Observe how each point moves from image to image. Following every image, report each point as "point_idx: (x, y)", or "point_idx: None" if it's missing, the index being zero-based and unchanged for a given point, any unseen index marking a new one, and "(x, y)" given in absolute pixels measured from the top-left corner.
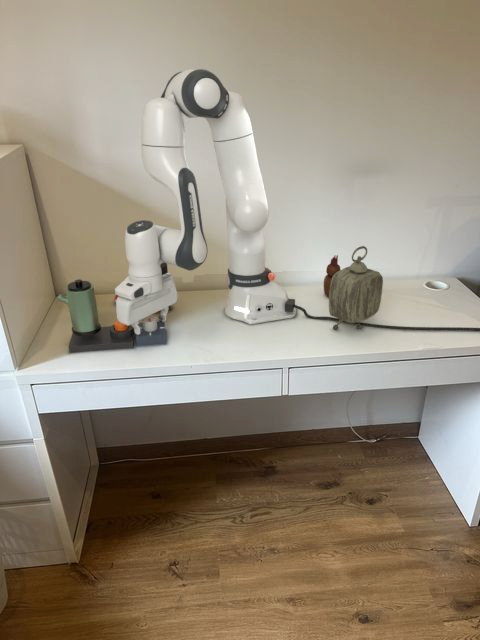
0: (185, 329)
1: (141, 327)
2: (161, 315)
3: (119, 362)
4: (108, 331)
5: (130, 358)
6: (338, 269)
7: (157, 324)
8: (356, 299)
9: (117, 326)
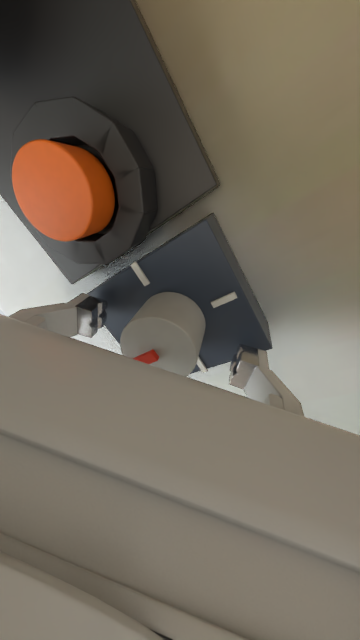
0: (292, 384)
1: (90, 333)
2: (251, 373)
3: (6, 280)
4: (72, 74)
5: (42, 299)
6: None
7: (224, 333)
8: None
9: (21, 198)
